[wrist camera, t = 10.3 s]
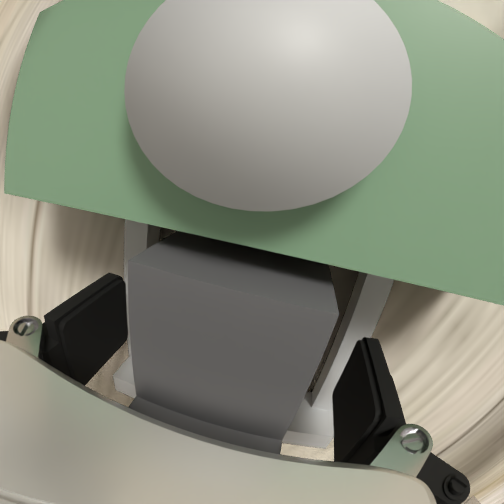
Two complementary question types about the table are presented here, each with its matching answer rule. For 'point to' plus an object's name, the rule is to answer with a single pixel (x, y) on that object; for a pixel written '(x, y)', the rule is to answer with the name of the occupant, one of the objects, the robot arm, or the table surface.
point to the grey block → (226, 336)
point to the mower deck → (277, 141)
